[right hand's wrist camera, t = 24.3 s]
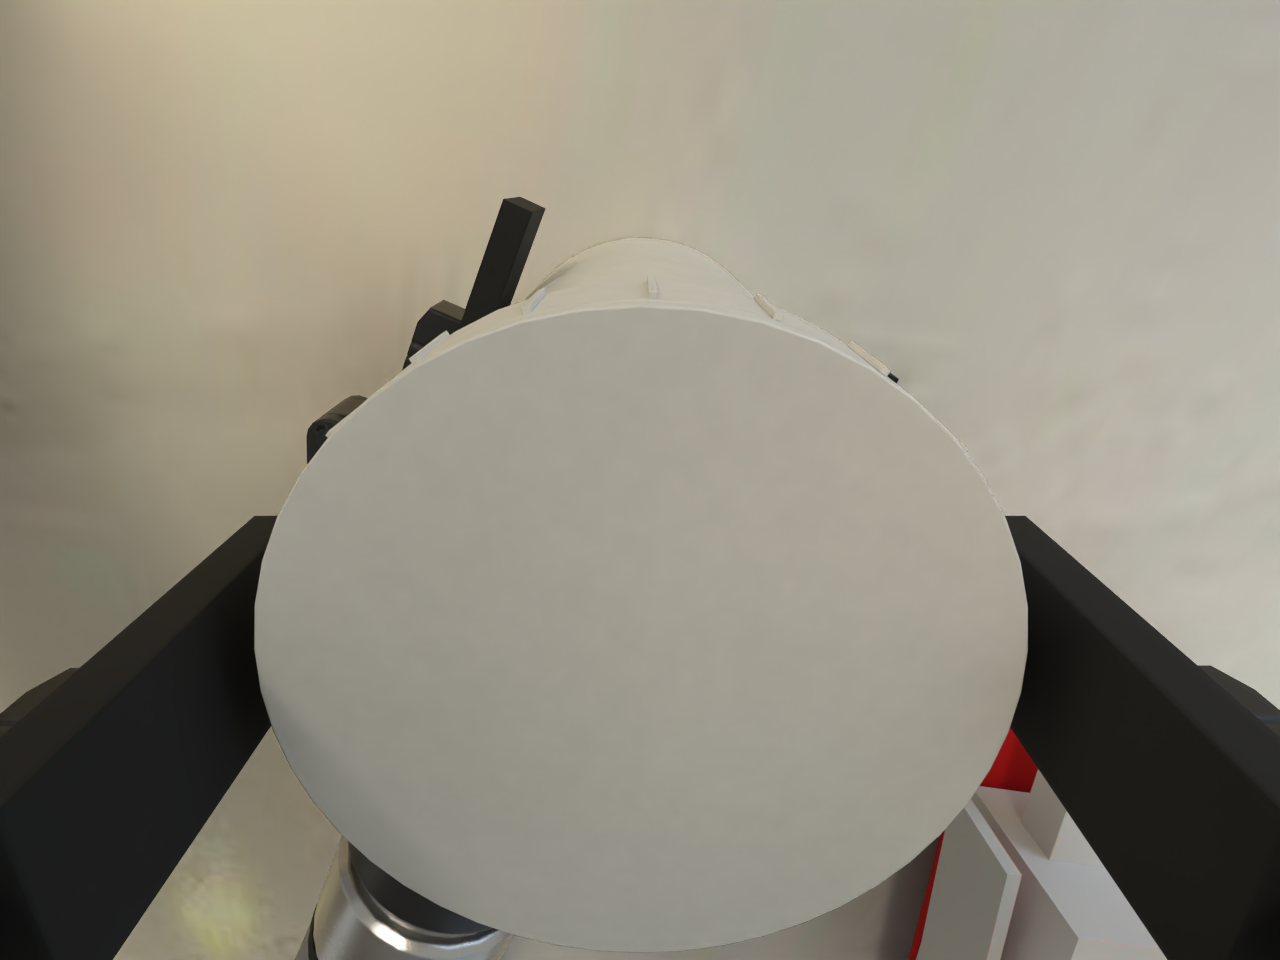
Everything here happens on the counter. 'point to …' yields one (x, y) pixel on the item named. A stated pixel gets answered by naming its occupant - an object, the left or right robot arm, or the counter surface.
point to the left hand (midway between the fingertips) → (705, 286)
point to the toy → (1023, 880)
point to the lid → (641, 621)
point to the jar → (641, 266)
